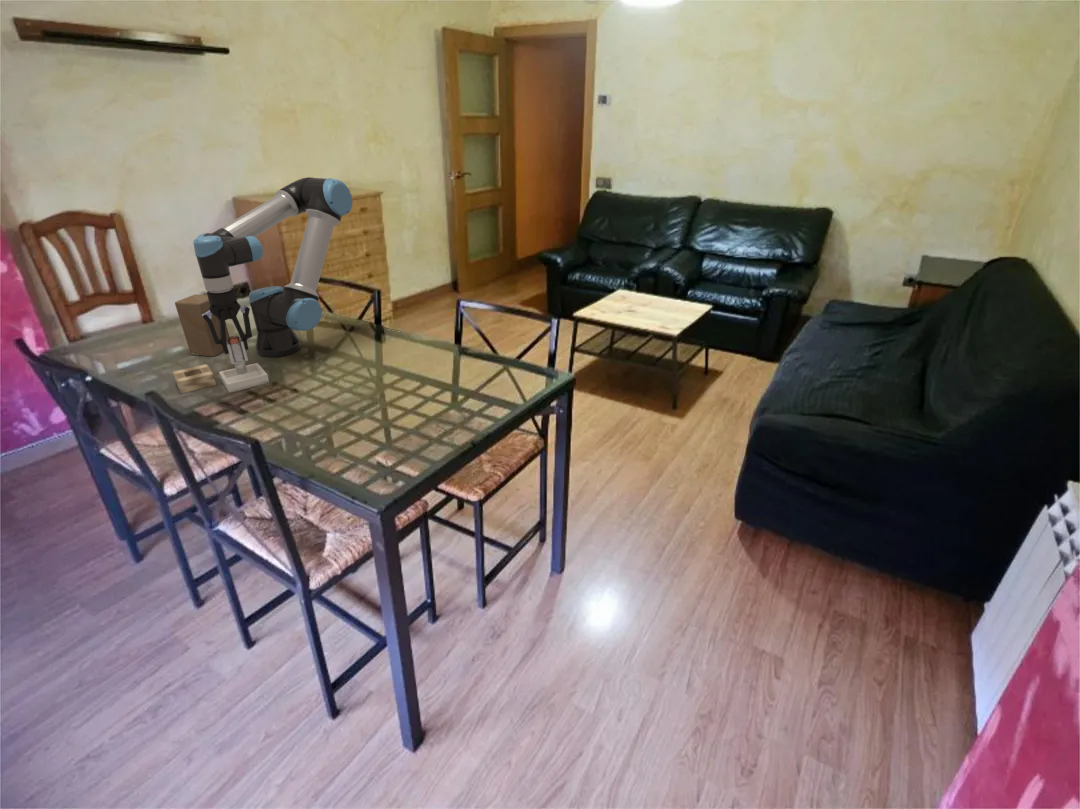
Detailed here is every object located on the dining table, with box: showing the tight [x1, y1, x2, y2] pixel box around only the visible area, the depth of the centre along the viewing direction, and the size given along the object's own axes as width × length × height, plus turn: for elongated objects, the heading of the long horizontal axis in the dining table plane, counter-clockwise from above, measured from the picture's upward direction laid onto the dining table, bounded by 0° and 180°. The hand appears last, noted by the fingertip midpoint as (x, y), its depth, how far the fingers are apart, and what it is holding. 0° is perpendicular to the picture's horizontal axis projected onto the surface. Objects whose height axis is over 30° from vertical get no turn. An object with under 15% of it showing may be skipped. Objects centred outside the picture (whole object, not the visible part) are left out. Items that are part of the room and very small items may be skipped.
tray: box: [218, 362, 270, 394], centre depth 184 cm, size 12×12×3 cm
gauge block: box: [172, 363, 217, 394], centre depth 182 cm, size 10×10×4 cm
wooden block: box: [174, 294, 231, 358], centre depth 204 cm, size 10×10×20 cm
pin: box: [227, 335, 248, 375], centre depth 180 cm, size 3×3×12 cm
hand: (239, 360), depth 181 cm, fingers closed on pin, 3 cm apart
